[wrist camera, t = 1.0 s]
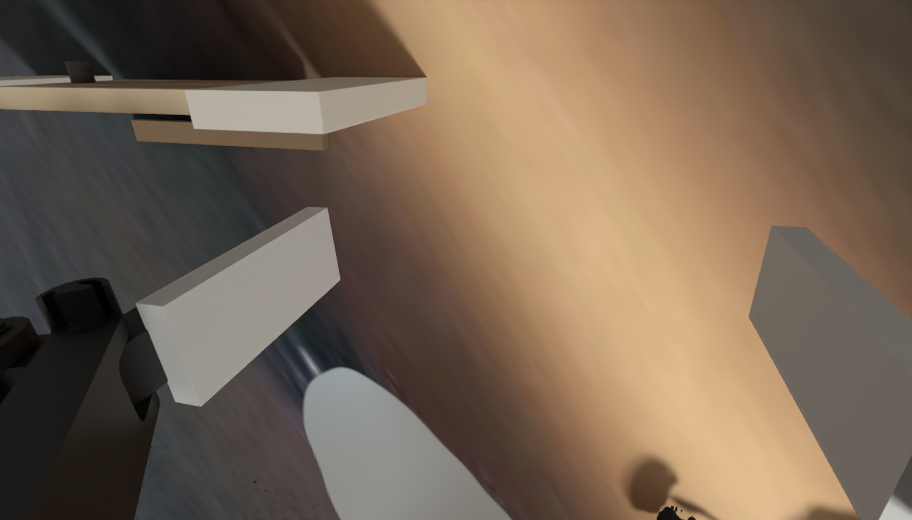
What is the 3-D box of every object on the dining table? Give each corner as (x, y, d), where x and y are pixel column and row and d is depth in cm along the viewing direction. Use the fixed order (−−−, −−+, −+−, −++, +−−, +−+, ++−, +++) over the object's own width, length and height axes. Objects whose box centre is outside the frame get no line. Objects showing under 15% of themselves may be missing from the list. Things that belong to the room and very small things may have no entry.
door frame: (51, 75, 46) (-188, 84, 32) (426, 77, 36) (318, 91, 22) (72, 135, 48) (-141, 168, 34) (429, 153, 38) (333, 210, 24)
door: (121, 60, 41) (-24, 62, 31) (305, 59, 36) (201, 61, 27) (134, 107, 43) (0, 122, 33) (312, 112, 38) (216, 132, 28)
